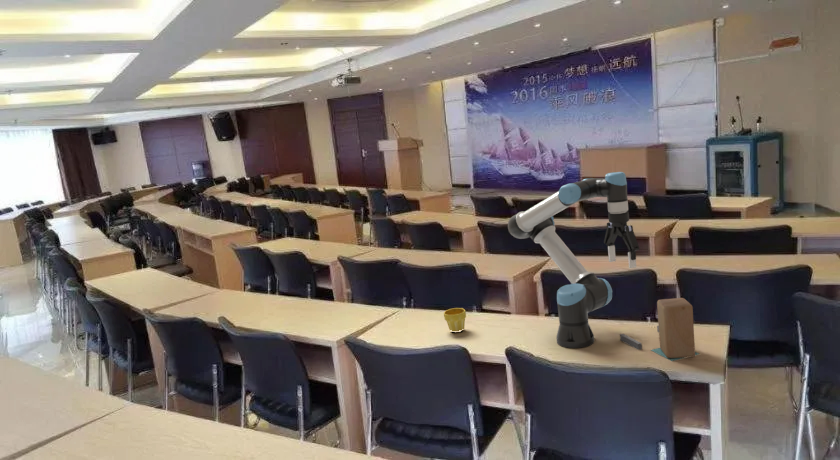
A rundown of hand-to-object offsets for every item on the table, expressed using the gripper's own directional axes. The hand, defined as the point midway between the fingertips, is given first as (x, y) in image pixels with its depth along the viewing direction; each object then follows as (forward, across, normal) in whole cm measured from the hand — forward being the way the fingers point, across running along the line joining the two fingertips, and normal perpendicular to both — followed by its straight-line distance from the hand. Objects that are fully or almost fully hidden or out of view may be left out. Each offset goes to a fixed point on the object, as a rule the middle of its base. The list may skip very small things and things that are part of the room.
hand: (622, 264), depth 220 cm
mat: (+32, -19, -7) cm, 38 cm away
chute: (+32, -4, -7) cm, 33 cm away
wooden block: (+32, -20, -7) cm, 38 cm away
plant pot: (+32, +51, +57) cm, 83 cm away
